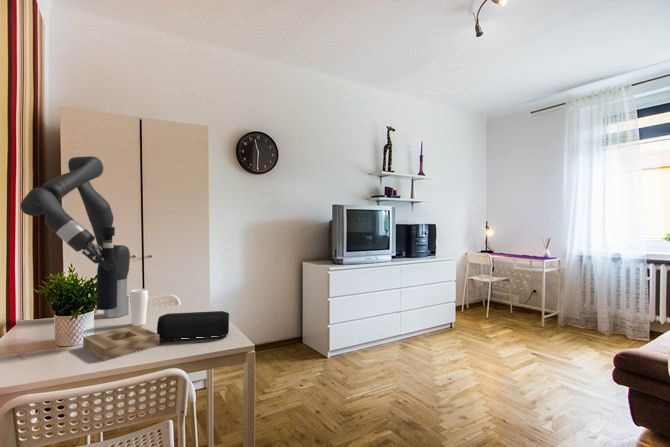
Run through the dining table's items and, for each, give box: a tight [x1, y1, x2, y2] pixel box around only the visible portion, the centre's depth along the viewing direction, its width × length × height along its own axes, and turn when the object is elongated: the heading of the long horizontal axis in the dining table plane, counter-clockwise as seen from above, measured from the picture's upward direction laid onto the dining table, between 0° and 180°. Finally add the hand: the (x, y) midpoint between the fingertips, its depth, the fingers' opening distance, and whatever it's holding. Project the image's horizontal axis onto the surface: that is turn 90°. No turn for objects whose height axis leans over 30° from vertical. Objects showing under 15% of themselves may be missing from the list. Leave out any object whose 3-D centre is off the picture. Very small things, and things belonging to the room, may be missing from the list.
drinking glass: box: [129, 288, 149, 326], centre depth 153 cm, size 7×7×15 cm
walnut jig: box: [82, 325, 160, 362], centre depth 128 cm, size 18×18×4 cm
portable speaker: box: [156, 310, 230, 341], centre depth 139 cm, size 26×10×10 cm, turn 106°
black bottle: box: [95, 226, 118, 311], centre depth 131 cm, size 6×6×30 cm
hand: (112, 267), depth 131 cm, fingers closed on black bottle, 6 cm apart
